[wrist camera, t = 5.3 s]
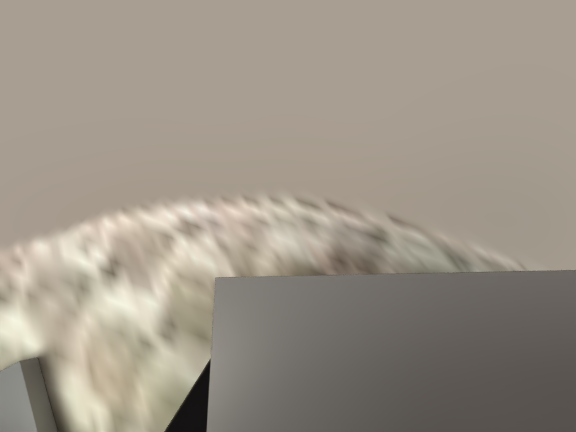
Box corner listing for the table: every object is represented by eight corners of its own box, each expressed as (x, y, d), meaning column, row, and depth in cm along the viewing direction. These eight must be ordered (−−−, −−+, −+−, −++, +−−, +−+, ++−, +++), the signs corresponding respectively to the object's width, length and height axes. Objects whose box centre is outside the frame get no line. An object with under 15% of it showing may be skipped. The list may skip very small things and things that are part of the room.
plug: (347, 396, 13) (951, 1043, 2) (256, 402, 13) (158, 1276, 1) (338, 302, 15) (620, 268, 3) (257, 305, 14) (215, 277, 3)
